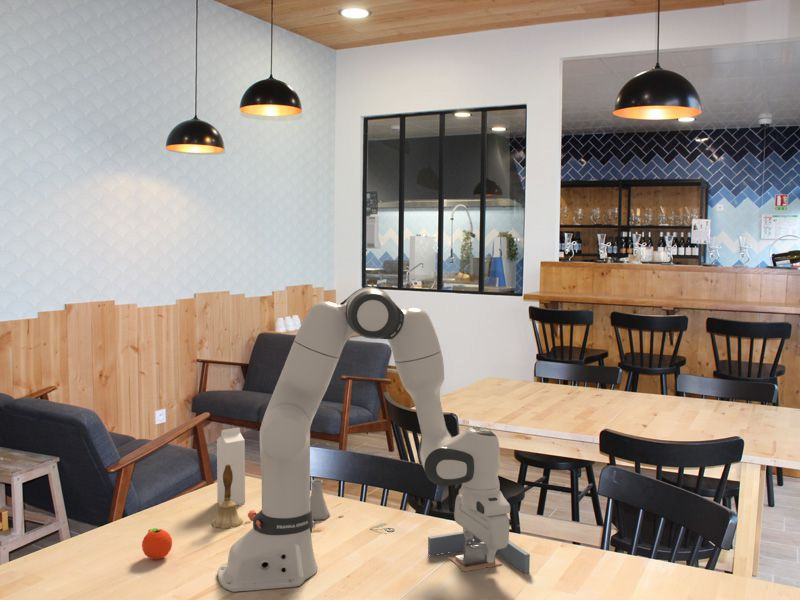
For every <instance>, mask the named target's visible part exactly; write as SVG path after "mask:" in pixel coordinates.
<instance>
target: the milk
mask: <svg viewBox="0 0 800 600" xmlns="http://www.w3.org/2000/svg"><path fill="white" fill-rule="evenodd" d="M245 443H246V441H245V438H244V437H243V435H242V433H241V428H240V427H233V428H228V429H227V428H226V429H222V430H221V433H220V436H218V438H216V464H217V465H216V466H217V467H216V474H217V475H216V478H217V480H216V481H217V482H216V483H217V486H216V489H217V499H216V500H217V503H218V502H219V503H218V504H220V503H221V502H223V501H224V496H225V487H224V483H223V473H224V470H225V466H226V465H230V466H231V470H232V473H233V480H232V484H231V497H230V498H231V501H233V502H235V503H236V506H239V505H238V504H241V505H244V504H243V503H245V504H246V456H245V455H246V449H245V448H246V447H245V445H246V444H245Z"/></svg>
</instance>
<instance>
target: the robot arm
mask: <svg viewBox="0 0 800 600" xmlns="http://www.w3.org/2000/svg"><path fill="white" fill-rule="evenodd" d="M307 312H308V313H307V314H306V316H305V318H304V319H303V321H302V323H301V324H300V326H299V328H298V330H297V333H296V335H295V338H294V340H293V343H292V345H291V347H290V350H289V353H288V355H287V357H286V360H285V363H284V366H283V368H282V370H281V373H280V375H279V378H278V380H277V383H276V385H275V386H274V387H275V388H274V390H273V393H272V395H271V398H270V400H269V403H268V405H267V407H266V410H265V413H264V415H263V418H262V420H261V425H260V428H259V457H260V460H259V461H260V472H261V473H260V474H261V475H260V476H261V510H260V511H259V512H257V511H256V510H253V509H252V510H250V511H248V512H247V517H248V518H249V520H250V521H251V522H252V528H251V529H250V530H249V531H248V532H246V533H245V534H244V535H243V536H242V537H240V538H239V539H238V540H236V541H235V542H234V543H233V544H232V545H231V547H230V549H229V553H228V558H227V562H225V563H222V564H221V565H220V566H219V568H218V569H217V579H218V582H219V584H220V585H221V586H222V587H223V588H224V589H226V590H228V591H230V592H233V593H234V592H247V591H258V590H260V591H261V590H268V589H269V590H270V589H282V588H285V589H286V588H293V587H295V588H296V587H300V586H301V585H302V584H303V583H304V582H305V580H307V579H309V578H310V577H312V576H314V575H315V574H316V572H317V571H318V565H317V562H316V558H315V552H314V549H313V547H314V546H313V540H312V539H313V538H312V533H313V527H314V525H313V523H314V520H313V515H312V509H311V508H310V497H311V427H312V423H313V420H314V418H315V415H316V413H317V411H318V409H319V407H320V404H321V402H322V400H323V398H324V396H325V394H326V392H327V390H328V388H329V385H330V383H331V380H332V378H333V375H334V372H335V370H336V368H337V365H338V363H339V360H340V358H341V355H342V351H343V349H344V347H345V345H346V343H347V341H348V340H349V339H350V337H352V336H353V335H355V334H358V336H360V337H363V338H365V339H371V340H376V339H378V340H387V342H388V343H389V345H390V348H391V351H392V355H393V360H394V364H395V367H396V371H397V374H398V376H399V379H400V382H401V384H402V386H403V388H404V389H405V391H406V393H408V394H409V396H410V397H411V399H412V402H413V404H414V408H415V411H416V416H417V420H418V424H419V429H420V440H419V445H418V458H419V461H420V463H421V465H422V467H423V468H422V469H424V473H425V475H426V478H427V479H428V480H429V481H430V482H431V483H433V484H434V485H436V486H439V487H450V486H456V485H461V487H460V488H459V489H458V494H457V495H456V498H455V503H454V513H453V515H454V520H455V523H456V524H457V525H459V526H460V527H462V532H463V533H464V536H465V539H466V540H465V545H467V544H474V543H475V540H474V539H473V535H474V536H476V537H477V538H478V539H480V540H481V541H482V542H484V543H485V544H487V549H488V551H487V553H485V560H486V561H487V562H488V563H492V562H494V558H495V559H496V554H497V553H496V551H497V549H503V548H506V547H507V545H508V542H509V540H510V518H509V516H508V514H510V513H511V504H510V503H509V502H508V501H507V499H506V497H504V495H503V492H502V491H501V490H500V486H501V485H500V484H501V483H500V480H499V471H500V468H501V467H500V466H501V453H500V452H501V451H500V443H499V437H498V436H497V435H496V434H495V433H494V432H493V431H491V430H490V429H487V428H484V427H479V426H468V427H466V428H465V430H463V431H462V432H460V433H458V434H457V435H455V436H453V435H452V434H451V433H450V431H449V430H448V428H447V426H446V420H445V417H444V412H443V408H442V403H441V397H440V396H441V395H440V391H441V387H442V385H443V384H444V380H445V364H444V358H443V353H442V349H441V344H440V341H439V337H438V335H437V333H436V330H435V328H434V325H433V322H432V320H431V317H430V315H429V314H428V313H427V312H426V311H425V310H423V309H420V308H417V307H416V308H415V307H409V308H405V309H401V308H400V307H399V306H398V305H397V304H396V303H395V302H394V301H393V299H392V298H391V297H390V295H389V294H388V292H385V291H384V290H382V289H380V288H378V287H373V286H366V287H361V288H360V289H357V290H356V291H354V292H353V293H351V294H350V295H349V296H348V297H347V298H345V299H344V300H343V301H342V302H340V304H338V303H335V302H331V301H319V302H316V303H314V304H313V305H312V307H311V308H310V309H309V310H308V311H307Z"/></svg>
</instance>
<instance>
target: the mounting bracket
mask: <svg viewBox="0 0 800 600" xmlns="http://www.w3.org/2000/svg"><path fill="white" fill-rule="evenodd" d="M387 524H388V523H386V522H384V523H383V522H382V523H379V524H376V525H375V526H372V527H370V528H369V530H371V529H372V530H371V531H373V530H374V532H376V531H377V530H379V529H374V528H379V527H383V526H385V525H387ZM383 529H384V530H385V531H387V532H388V533H394V532H395V531H394V530H395V529H394V528H383ZM383 529H380V530H383ZM387 529H389V530H387ZM390 529H392V530H390ZM391 531H392V532H391Z"/></svg>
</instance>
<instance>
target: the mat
mask: <svg viewBox="0 0 800 600" xmlns="http://www.w3.org/2000/svg"><path fill="white" fill-rule="evenodd" d="M455 556H456V555H455ZM455 556H451V557H449V556H448V559H449V558H450V559H451V560H452V561H453V562H452V561H451V560H450V559H449V560H450V561H451V562H452V563H454V564H455V563H456V564H457V565H458V566H459V569H461V570H462V569H463V570H464V571H465V572H470V571H469V570H471V571H475V570H482V569H487V568H486V567H488V568H491V567H492V566H493V567H497V566H499V567H500V566H503V563H502V562H500V560H498V559H497V558H495V562H492V563H486V564H481V565H475V566H469V567H464V566H463V565H462V564H461V563H459V562H458V561H457V560H456V559H455ZM456 564H455V565H456ZM457 565H456V566H457ZM458 566H457V567H458ZM493 567H492V568H493ZM481 568H482V569H481ZM463 570H462V571H463ZM464 571H463V572H464Z"/></svg>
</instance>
